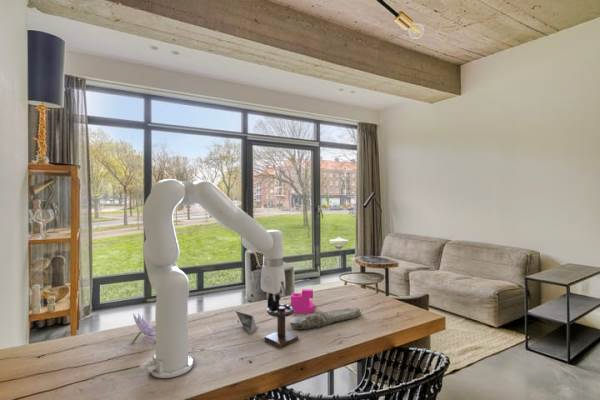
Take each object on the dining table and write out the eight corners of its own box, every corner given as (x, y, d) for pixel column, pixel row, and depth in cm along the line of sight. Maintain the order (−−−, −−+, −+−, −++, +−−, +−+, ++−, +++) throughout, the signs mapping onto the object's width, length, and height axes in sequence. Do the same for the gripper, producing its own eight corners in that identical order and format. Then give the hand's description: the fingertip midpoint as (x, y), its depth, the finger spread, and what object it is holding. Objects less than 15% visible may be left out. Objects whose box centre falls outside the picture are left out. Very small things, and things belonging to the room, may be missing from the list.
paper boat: (265, 326, 131) (250, 327, 124) (256, 337, 132) (241, 340, 124) (249, 305, 138) (234, 305, 131) (241, 316, 139) (226, 317, 131)
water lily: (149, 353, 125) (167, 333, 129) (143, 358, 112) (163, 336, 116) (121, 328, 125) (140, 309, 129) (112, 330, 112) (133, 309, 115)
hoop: (279, 320, 113) (279, 315, 113) (261, 312, 120) (261, 308, 120) (299, 312, 121) (299, 308, 121) (281, 306, 128) (281, 302, 128)
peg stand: (280, 348, 114) (280, 313, 114) (264, 340, 121) (264, 307, 120) (298, 340, 121) (298, 307, 121) (282, 333, 127) (281, 301, 127)
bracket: (313, 313, 149) (312, 291, 148) (290, 313, 149) (290, 291, 149) (312, 304, 161) (312, 283, 160) (291, 304, 161) (291, 283, 161)
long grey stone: (366, 320, 142) (352, 314, 151) (366, 308, 142) (352, 303, 151) (297, 332, 126) (286, 325, 134) (297, 319, 126) (286, 312, 135)
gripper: (252, 260, 126) (253, 307, 126) (279, 266, 115) (279, 317, 115) (267, 258, 131) (267, 302, 132) (294, 263, 120) (294, 312, 121)
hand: (273, 309), depth 123 cm, fingers closed on hoop, 1 cm apart
